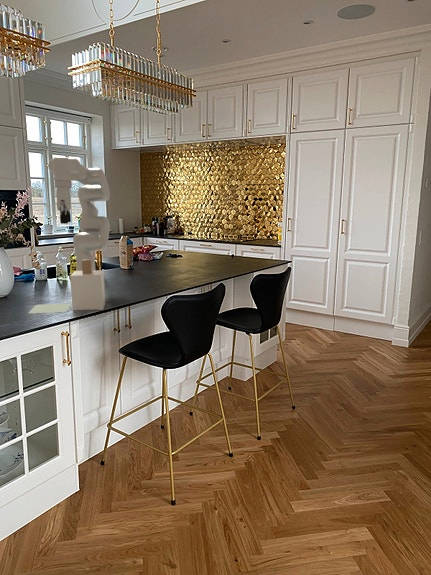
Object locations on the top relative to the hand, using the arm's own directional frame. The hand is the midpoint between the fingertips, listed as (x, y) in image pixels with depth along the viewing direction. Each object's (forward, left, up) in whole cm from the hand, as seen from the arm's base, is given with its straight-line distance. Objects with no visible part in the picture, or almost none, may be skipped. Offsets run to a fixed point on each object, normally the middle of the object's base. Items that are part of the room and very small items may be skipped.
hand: (65, 222), depth 205 cm
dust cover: (+11, +10, -38) cm, 41 cm away
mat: (+12, -7, -38) cm, 41 cm away
